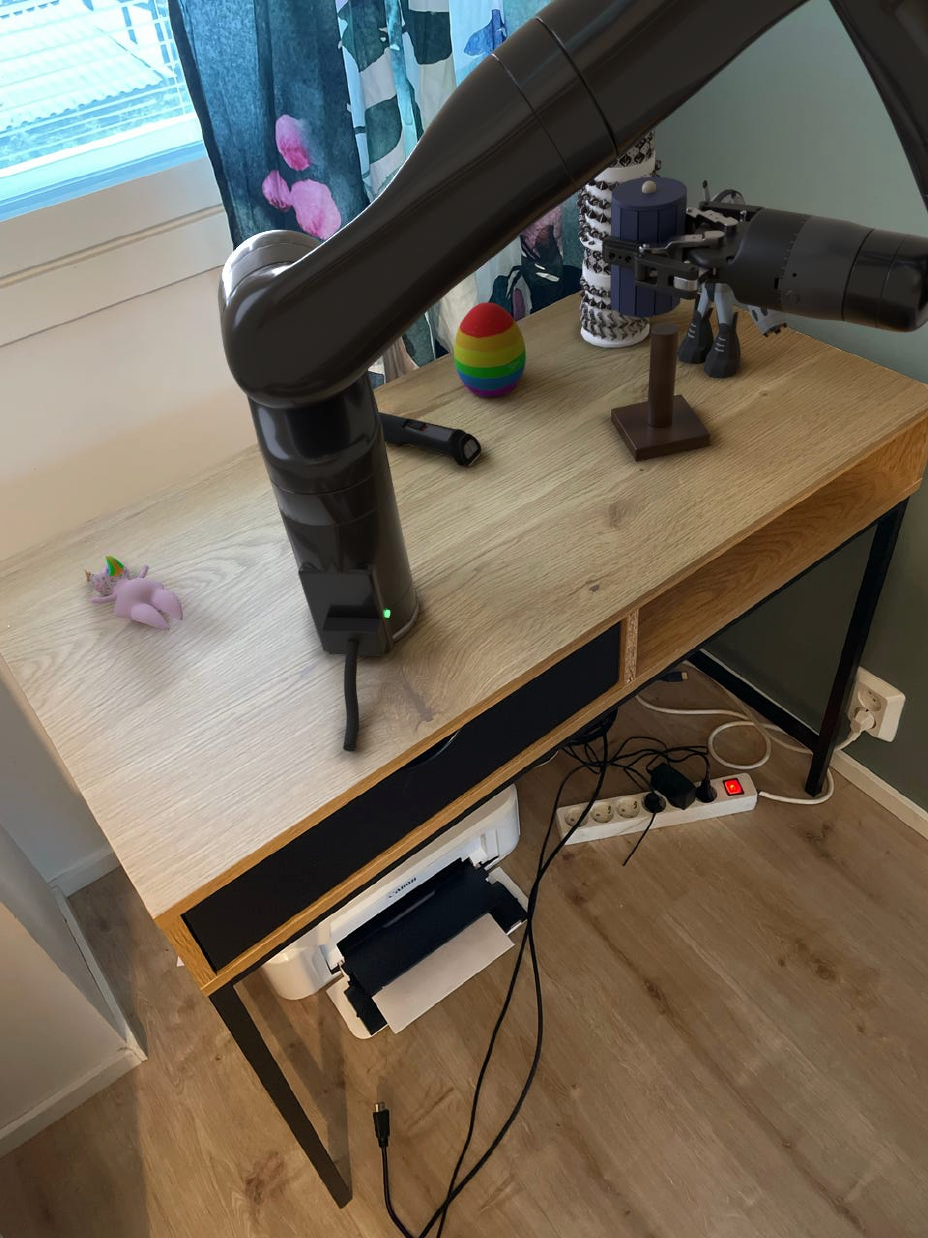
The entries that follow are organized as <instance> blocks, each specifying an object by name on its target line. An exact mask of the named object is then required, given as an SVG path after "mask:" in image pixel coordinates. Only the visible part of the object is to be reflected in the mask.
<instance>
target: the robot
mask: <svg viewBox="0 0 928 1238" xmlns="http://www.w3.org/2000/svg"><path fill="white" fill-rule="evenodd" d="M702 195H703V201H715V202H725V203H734V204H743V205H747V204H746V201H745V199H744V196H743V195H742V193H741V192H739V191H737V190H736V189H732V188H729V189H728V188H727V189H724V190H723V191H719V192H717V193H716V194H715V195H714V196H713V197H712V198H711V196H710V190H709V185H708V181H707V180H706V179H704V180H703V182H702ZM718 214H720V215H722V216H723V214H722V213H718ZM701 288H702V289H701V291H702V292H701V294H700V293H697V298H696V299H694V307H693V314H692V318H691V321H690V322H689V326H688V329H687V332H686V335H685V337H684V338H683V339H682V341H681V342H680V345H679V348H678V349H677V359H678V361H680V362H683V363H687V364H690V365H691V364H702V363H704V365H703V366H704V367H703V372H704V373H705V374H706V375H707V376H708V377H709V378H718V379H724V378H729V377H733V376H734V375H736V374H737V372H738V370H739V369H740V367H741V359H742V358H741V357H742V351H741V344H740V340H739V336H738V333H737V325H738V317H739V311H735V312H734V309H733V307H734V306H733V296H734V293H733V291H732V289H731V288H730V286H729V285H728V284H719V283H716V284H708V283H703V284H702V285H701ZM713 303H714V304H715V306H716V310H715V311H716V318H717V326H718V332H717V334H716V336H715V335H714V330H713V327H712V324H711V321H710V318H711V316H712V314H713V311H714V309H715V307H712V305H713ZM747 307H748V312H749V313H750V316H751V319H752V321H753V323H754V324H755V327H756V328H757V330H758V331H759V332H760V334H761V335H762V336H764V337H765V338H768V337H769V335H771V334H773V333H775V335H779V334H781V332H782V329H786V328H788V320H787V313H784V312H780V311H775V310H770V309H765V308H760V307H756V306H751V305H747Z"/></svg>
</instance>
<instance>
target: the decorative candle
mask: <svg viewBox="0 0 928 1238" xmlns="http://www.w3.org/2000/svg"><path fill="white" fill-rule="evenodd" d="M655 135H656V128H655V129H654V130H653V131H651V132H650V133H649V134H648V135H647V136H645V137H644V138H643V139H642V140H641V141H640V142H638V143H637V144H636V145H635V146H634V147H633V148H632V149H630V150H629V151H628V152H627V153H626V154H625V155H623V156H622V157H621V158H620V159H617V161H616V162H615V163H614V164H612V165H611V166H610V167H608V168H607V169H606V170H605V171H603V172H602V173H601V174H600V175H598V176H597V177H596V178H595V179H593V180H592V181H591V182H590V183H588V184H587V185H586V186H584V187H583V188H582V189H581V190H579V191H578V192H577V193H578V194H577V198H578V199H576V203H575V204H576V206H577V207H579V213H578V220H577V223H578V225H579V231H578V233H577V234H578V237H579V240H580V242H581V243H582V245H583V256H584V258H583V260H582V273H581V275H580V279H579V285H581V288H580V290H581V291H580V292H579V296H580V297H581V302H580V305H579V312H580V314H581V316H580V318H579V324H580V325H581V329H580V335H581V336H582V338H583V339H584V341H586V342H588V343H589V344H591V345H594V346H597V347H602V348H613V349H615V348H617V349H618V348H623V347H629V346H633V345H635V344H637V343H639V342H642V341H644V339H645V338H647V337H648V335H649V333H650V328H651V327H650V323H651V320H650V318H651V317H641V318H637V317H631V316H627V315H622V314H620V313H618V312H617V311H615V310H614V309H613V308H612V307H611V306H610V275H611V264H608V263H605V262H604V261H603V259H602V241H603V240H604V239H605V238H606V237H608V236H610V235H611V193H612V190H613V189H614V188H615V187H616V186H617V185H619V184H621V183H623V182H626V181H629V180H632V179H637V178H643V177H661V175H659V174H658V173H657V172H658V171H660V170H661V168H662V161H661V160H660V159H657V157H656V150H655V137H656V136H655Z"/></svg>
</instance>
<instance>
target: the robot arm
mask: <svg viewBox="0 0 928 1238" xmlns="http://www.w3.org/2000/svg"><path fill="white" fill-rule="evenodd" d="M811 1H812V0H552V1H551V2H549V3H548V4H546V5H545V6H544V7H543V8H541V9H540V10H539V11H537V12H536V13H535V14H534V15H533V17H532V18H531V17H530V18H529V19H528V20H527V21H526V22H525V23H523V24H522V25H521V26H519V28H517V30H515V31H514V32H513V33H512V34H511V35H509V36H508V37H507V38H506V39H505V40H504V41H503V42H501V43H500V44H499V45H498V46H497V47H496V48H495V49H493V50H492V51H491V52H490V54H487V56H486V57H484V58H483V59H482V60H481V61H480V62H479V63H478V64H477V65H476V66H475V67H474V68H473V69H472V70H471V71H470V73H468V75H466V77H465V78H464V79H463V80H462V81H461V82H460V84H459V85H458V86H457V87H456V88H455V89H454V90H453V92H452V93H451V94H450V95H449V97H448V98H447V99H446V100H445V102H444V103H443V105H442V106H441V108H440V109H439V110H438V112H437V113H436V115H435V116H434V117H433V119H432V120H431V122H430V123H429V124H428V126H427V127H426V129H425V130H424V132H423V133H422V135H421V137H420V138H419V140H418V141H417V142H416V144H415V146H414V147H413V149H412V150H411V152H410V153H409V154H408V156H407V158H406V159H405V161H404V162H403V163H402V165H401V166H400V168H399V169H398V170H397V172H396V174H395V175H394V176H393V178H392V179H391V180H390V181H389V183H388V184H387V185H386V187H385V188H384V189H383V190H382V191H381V193H380V194H378V196H377V197H376V198H375V199H374V200H373V201H372V202H371V203H370V204H369V205H368V206H367V207H366V208H365V209H364V210H363V211H361V212H360V213H359V214H358V215H357V216H356V217H355V218H353V219H352V220H351V221H350V222H348V223H347V224H346V225H344V226H343V227H342V228H341V229H339V230H338V231H337V232H335V233H334V234H333V235H332V236H330V237H329V238H328V239H327V240H325V241H324V242H323V243H322V242H321V241H320V240H318V239H316V238H314V237H313V236H310V235H309V234H306V233H304V232H300V231H296V230H291V229H274V230H268V231H267V230H266V231H263V232H260V233H257V234H256V235H253V236H252V237H250V238H248V239H246V240H245V241H243V242H242V243H241V244H240V245H239V246H238V247H236V249H235V250H234V251H233V252H232V253H231V255H230V256H229V257H228V259H227V261H226V263H225V264H224V266H223V269H222V272H221V273H220V277H219V282H218V289H217V303H218V304H217V305H218V314H219V325H220V335H221V342H222V347H223V353H224V357H225V360H226V364H227V366H228V369H229V371H230V374H231V375H232V377H233V380H234V382H235V383H236V385H237V386H238V387H239V389H240V390H241V391H242V392H243V393H244V394H245V395H246V398H247V402H248V406H249V411H250V414H251V419H252V422H253V427H254V431H255V436H256V439H257V444H258V448H259V451H260V455H261V457H262V461H263V464H264V467H265V470H266V473H267V475H268V480H269V482H270V485H271V489H272V491H273V494H274V497H275V500H276V503H277V504H276V505H277V507H278V510H279V514H280V516H281V520H282V523H283V527H284V529H285V533H286V535H287V538H288V541H289V545H290V548H291V550H292V554H293V557H294V560H295V563H296V566H297V569H298V570H297V575H298V578H299V581H300V585H301V588H302V590H303V594H304V597H305V599H306V603H307V606H308V609H309V613H310V615H311V618H312V621H313V624H314V628H315V631H316V634H317V637H318V640H319V642H320V646H321V649H322V651H324V652H326V651H327V653H328V655H339V656H340V655H341V656H343V655H345V656H344V657H345V658H344V659H345V660H344V670H343V671H344V672H343V673H344V674H343V692H344V693H343V694H344V703H345V710H346V713H345V714H346V726H345V734H344V738H343V739H344V740H343V745H342V749H343V750H344V751H345V752H347V753H352V752H354V751H356V749H357V742H358V736H359V729H360V707H359V701H358V691H357V690H358V689H357V675H358V674H357V672H358V657H359V656H369V657H371V656H373V657H384V654H387V653H390V652H392V649H393V646H394V644H395V643H396V642H398V641H399V640H401V639H402V638H404V636H406V635H407V634H408V633H409V631H410V630H411V629H412V628H413V627H414V625H415V623H416V621H417V619H418V616H419V612H420V610H419V609H420V605H419V604H420V603H419V600H418V595H417V592H416V590H415V585H414V580H413V574H412V570H411V566H410V562H409V561H410V560H409V556H408V551H407V547H406V546H407V545H406V541H405V536H404V531H403V527H402V521H401V517H400V512H399V507H398V502H397V497H396V492H395V486H394V482H393V476H392V471H391V467H390V461H389V457H388V451H387V446H386V445H387V444H386V442H385V440H384V434H383V429H382V424H381V419H380V415H379V412H380V411H379V408H378V403H377V399H376V396H375V391H374V387H373V383H372V378H371V376H370V371H369V369H370V368H371V367H372V366H374V364H375V363H376V362H377V361H378V360H379V359H380V358H381V357H382V356H383V355H384V354H385V353H386V352H388V351H389V349H391V348H392V346H393V345H395V343H397V342H398V340H400V339H401V338H402V337H403V336H404V335H405V334H406V333H407V332H408V331H409V330H410V329H411V328H413V326H414V325H415V324H416V323H417V322H419V320H420V319H421V318H422V317H424V315H426V314H427V312H429V311H430V310H431V309H432V308H434V306H435V305H436V304H437V303H438V302H439V301H441V300H442V299H443V298H444V297H445V296H446V295H447V294H448V293H450V292H451V291H452V290H453V289H455V287H457V286H458V285H460V284H461V283H462V282H464V281H465V279H467V278H469V276H471V275H472V274H474V273H475V272H476V271H478V270H479V269H480V268H482V267H483V266H485V264H487V263H488V262H489V261H490V260H492V259H493V258H495V256H497V255H498V254H499V253H501V252H502V251H504V249H506V247H508V246H509V245H510V244H512V243H513V242H514V241H515V240H517V239H518V238H519V237H520V236H522V235H523V234H524V233H525V232H527V230H529V229H530V228H531V227H533V226H534V225H535V224H536V223H538V222H539V221H540V220H541V219H543V218H544V217H546V216H547V215H549V214H550V213H551V212H552V211H553V210H555V209H557V208H558V207H559V206H561V205H563V203H565V202H566V201H568V200H569V199H570V198H571V197H572V198H573V196H574V195H576V193H578V191H579V190H581V189H582V188H583V189H584V187H585V186H586V185H587V184H588V183H590V182H591V181H592V180H593V179H595V178H596V177H597V176H598V175H600V174H601V173H602V172H603V171H605V170H606V169H607V168H608V167H610V166H611V165H612V164H614V163H615V162H616V161H617V159H620V158H621V157H622V156H623V155H625V154H626V153H627V152H628V151H629V150H630V149H632V148H633V147H634V146H635V145H636V144H637V143H638V142H640V141H641V140H642V139H643V138H644V137H645V136H647V135H648V134H649V133H650V132H651V131H653V130H654V129H655V130H656V128H658V126H660V125H661V124H663V123H664V122H665V121H666V120H667V119H669V118H670V117H671V116H672V115H673V114H675V112H677V111H678V110H679V109H680V108H681V107H683V106H684V105H685V104H686V103H688V102H689V101H690V100H691V99H692V98H694V97H695V96H696V95H697V94H698V93H699V92H700V91H701V90H703V89H704V88H705V87H706V86H707V85H708V84H710V83H711V82H712V81H713V80H714V79H715V78H716V77H718V75H720V73H722V72H723V71H724V70H725V69H726V68H727V67H729V65H731V64H732V63H733V62H734V61H735V60H737V58H738V57H740V55H742V54H743V53H744V52H745V51H746V50H748V48H750V47H751V46H752V45H753V44H754V43H756V41H758V40H759V39H760V38H761V37H762V36H764V35H765V34H767V32H769V31H771V29H773V28H774V27H776V26H777V25H778V24H779V23H781V22H782V21H784V20H785V19H786V18H788V17H789V16H791V15H792V14H793V13H795V12H796V11H798V10H799V9H801V7H804V6H805V5H806V4H808V3H810V2H811ZM828 3H829V4H830V5H831V7H832V9H833V11H834V12H835V14H836V16H837V17H838V19H839V21H840V22H841V24H842V27H843V28H844V30H845V32H846V34H847V35H848V37H849V39H850V42H851V43H852V45H853V47H854V49H855V50H856V52H857V54H858V56H859V58H860V59H861V62H862V64H863V65H864V67H865V70H866V71H867V73H868V75H869V77H870V79H871V81H872V83H873V85H874V87H875V90H876V91H877V93H878V96H879V98H880V100H881V102H882V104H883V107H884V109H885V110H886V113H887V115H888V118H889V119H890V121H891V124H892V126H893V129H894V131H895V133H896V137H897V138H898V141H899V143H900V146H901V148H902V150H903V153H904V156H905V158H906V161H907V163H908V166H909V169H910V171H911V173H912V176H913V179H914V181H915V184H916V186H917V189H918V192H919V195H920V197H921V199H922V203H923V204H924V207H925V210H926V213H927V214H928V0H828ZM718 213H722V214H723V216H722V215H720V214H718ZM682 247H683V250H682V262H681V261H677V260H676V255H677V251H678V249H680V248H682ZM662 253H665V254H667V258H665V257H661V256H657V255H653V254H662ZM602 259H603V261H604V262H605V263H608V264H613V265H618V266H623V267H628V268H633V269H635V285H636V286H639V287H642V288H646V289H650V290H653V291H657V292H660V293H664V294H668V295H671V296H675V297H678V298H680V299H682V300H687V301H692V300H693V301H694V300H695V299H696V298H697V293H698V291H699V287H702V284H703V283H708V284H716V283H719V284H728V285H729V286H730V288H731V289H732V291H733V293H734V294H733V296H734V298H735V300H736V301H737V302H738V303H739V304H742V305H747V306H748V305H751V306H756V307H760V308H765V309H770V310H775V311H780V312H784V313H785V314H788V315H794V316H800V317H803V318H804V317H805V318H809V319H813V320H820V321H821V320H822V321H835V322H836V321H838V322H846V323H848V324H853V325H859V326H863V327H868V328H874V329H878V330H882V331H888V332H892V333H901V334H903V333H904V334H905V333H913V332H915V331H918V330H919V329H920V328H922V327H923V326H924V325H925V324H927V323H928V236H923V235H918V234H914V233H912V234H911V233H908V232H901V231H895V230H888V229H882V228H874V227H870V226H867V225H864V224H860V223H857V222H854V221H851V220H846V219H842V218H841V219H840V218H834V217H827V216H822V215H821V216H820V215H815V214H807V213H801V212H795V211H788V210H782V209H776V208H769V207H768V208H766V207H764V206H761V205H751V204H746V205H743V204H734V203H725V202H715V201H704V200H702V201H700V202H698V208H697V207H694V206H688V207H686V222H685V235H678V236H671V237H670V238H669V239H668V240H667V241H666V242H652V243H644V242H643V241H638V240H637V241H636V240H631V239H625V238H621V237H616V236H611V235H610V236H608V237H606V238H605V239H604V240H603V241H602ZM650 276H657V278H654V277H650ZM698 294H699V293H698Z"/></svg>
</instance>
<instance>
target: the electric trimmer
mask: <svg viewBox="0 0 928 1238" xmlns="http://www.w3.org/2000/svg"><path fill="white" fill-rule="evenodd" d="M379 415H380V419H381V424H382V429H383V434H384V440H385V443H388V444H390V445H392V446H395V447H404V446H405V447H406V446H411V447H414V448H415V447H416V448H419V449H421V450H426V451H429V452H432V453H435V454H439V455H441V456H445V457H448V458H451V459H453V460H454V462H455V463H456V464H457V465H458V466H460V467H464V466H465V465H466V466H468V467H471V466H472V465H473V463H475V461H476V460H477V459H478V458H479V457H480V456H481V453H482V445H481V443H480V441H479V440H478V439H477V438H476V437H475V436H474V435H473V434H471V433H469V432H466V431H465V430H463V429H461V428H452V427H448V426H444V425H440V424H435V423H432V422H431V423H430V422H426V421H422V420H418V419H414V418H408V417H403V416H398V415H393V414H389V413H385V412H381V411H379Z"/></svg>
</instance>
